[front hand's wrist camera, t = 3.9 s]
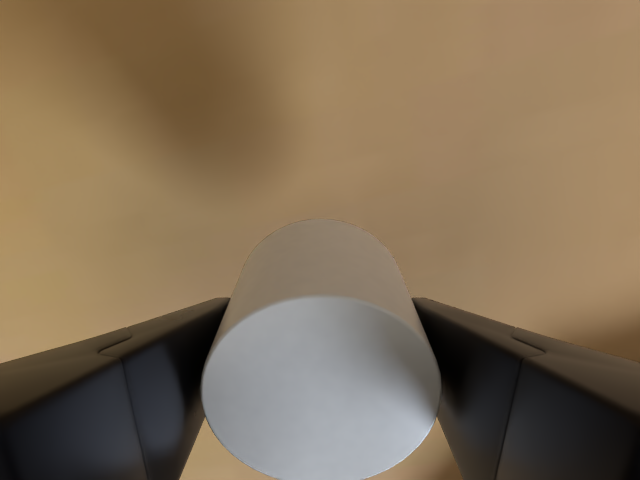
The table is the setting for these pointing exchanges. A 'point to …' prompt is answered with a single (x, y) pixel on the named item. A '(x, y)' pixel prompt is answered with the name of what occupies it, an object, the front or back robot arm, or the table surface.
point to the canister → (321, 358)
